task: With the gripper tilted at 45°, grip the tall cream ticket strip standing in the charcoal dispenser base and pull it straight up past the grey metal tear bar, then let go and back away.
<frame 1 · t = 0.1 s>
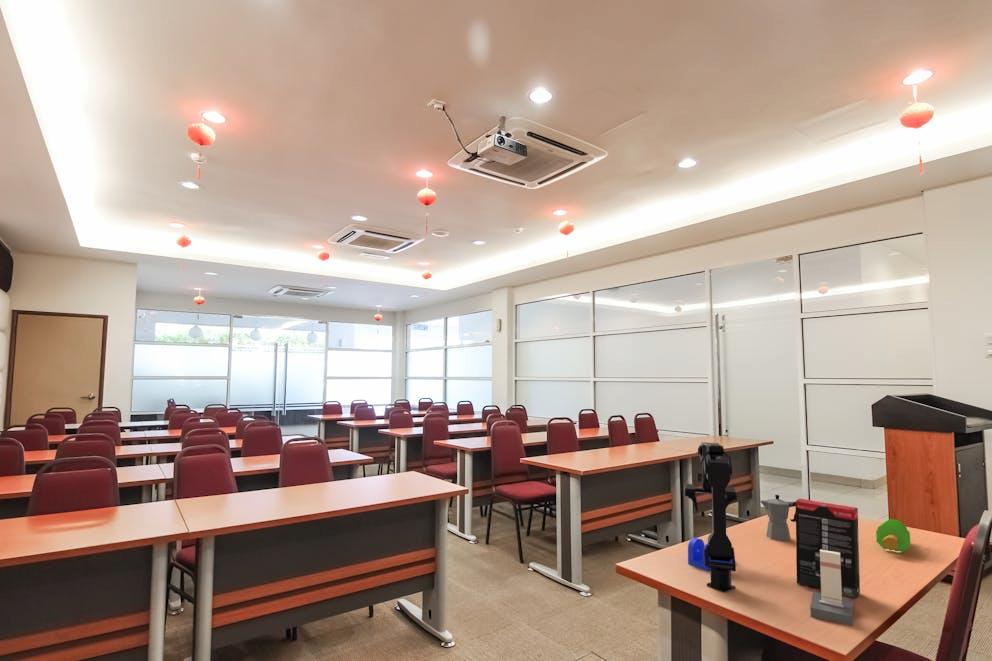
hand: (709, 512, 205), 15 cm above the table, tool pointing down, fingers open, 9 cm apart
dispenser base: (832, 612, 154), on the table
ticket strip: (830, 581, 155), point 9 cm above the table, slide at 0.0 cm
graphics card box: (828, 590, 171), on the table
bracket: (713, 564, 193), on the table
coffeepot: (781, 538, 225), on the table
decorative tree: (895, 548, 215), on the table
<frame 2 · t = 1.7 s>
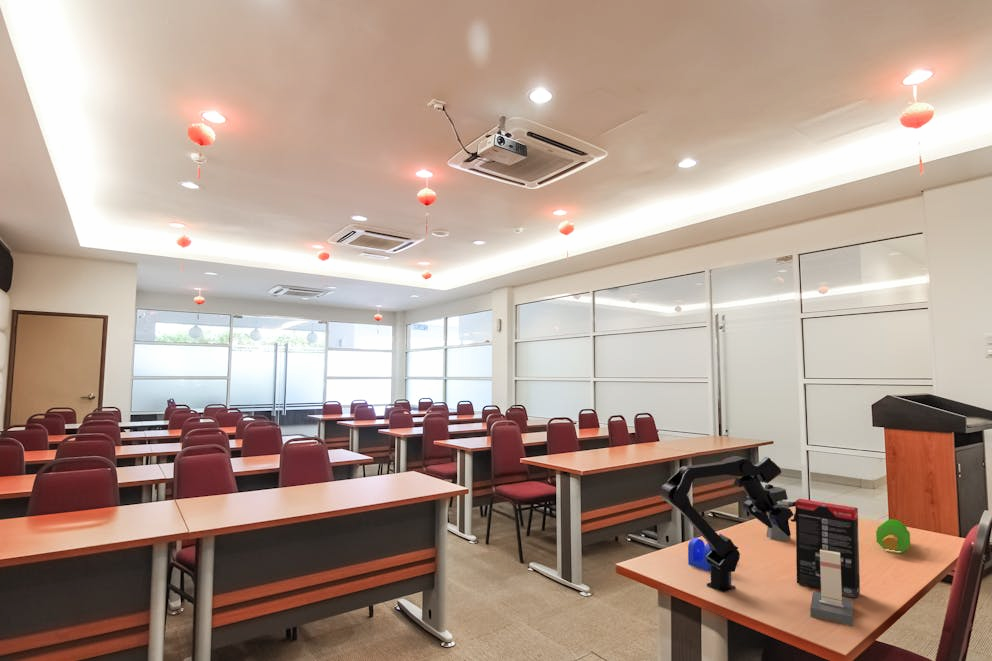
hand: (780, 531, 175), 17 cm above the table, tool tilted 35°, fingers open, 9 cm apart
nothing on the table moved.
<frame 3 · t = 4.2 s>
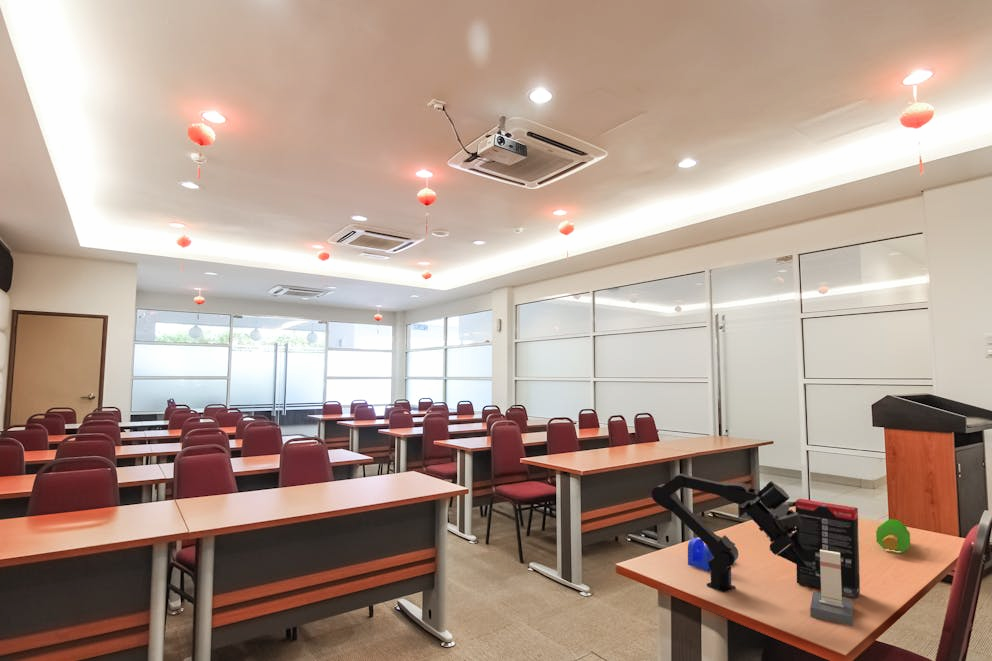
hand: (806, 562, 158), 13 cm above the table, tool tilted 45°, fingers open, 9 cm apart
nothing on the table moved.
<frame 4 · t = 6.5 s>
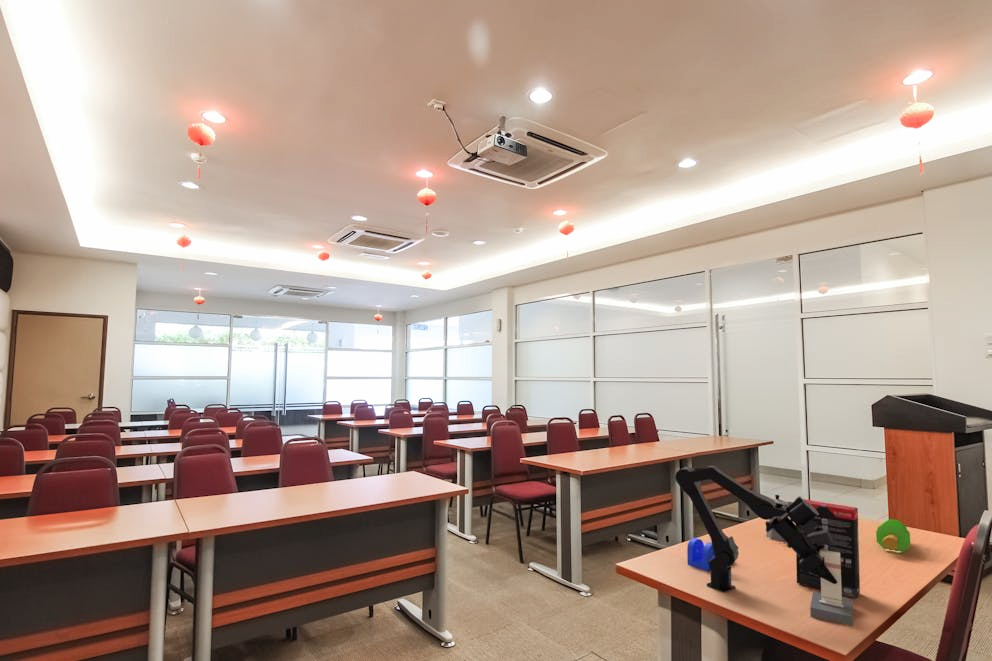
hand: (836, 581, 154), 9 cm above the table, tool tilted 45°, fingers open, 4 cm apart
ticket strip: (830, 581, 155), point 9 cm above the table, slide at 0.0 cm, touching gripper
everything else where it was.
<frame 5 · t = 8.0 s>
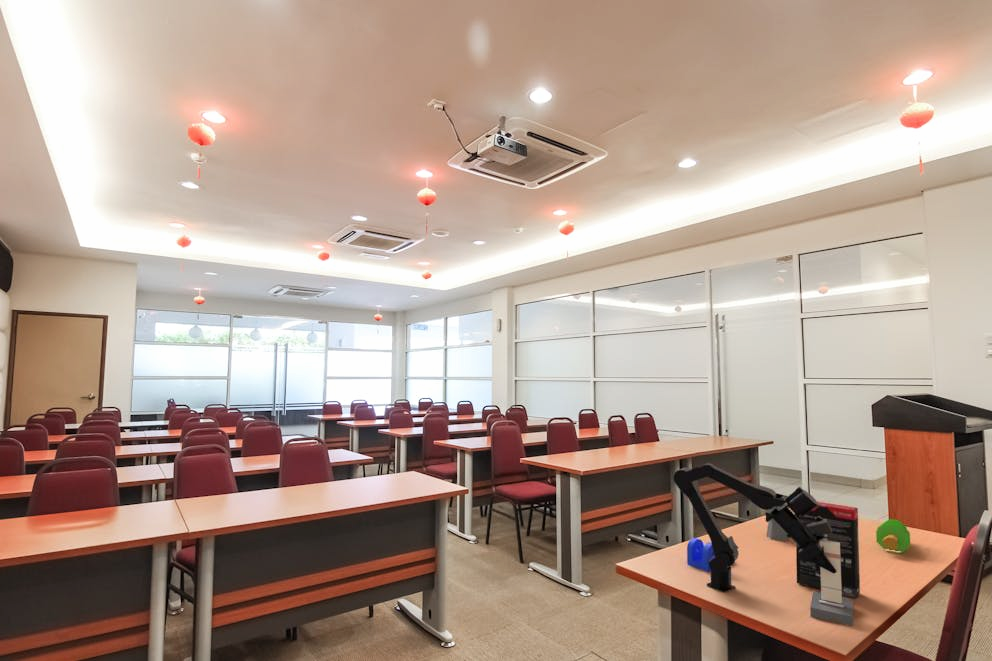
hand: (835, 571, 154), 12 cm above the table, tool tilted 45°, fingers open, 3 cm apart
ticket strip: (830, 570, 155), point 12 cm above the table, slide at 2.9 cm, touching gripper
everything else where it was.
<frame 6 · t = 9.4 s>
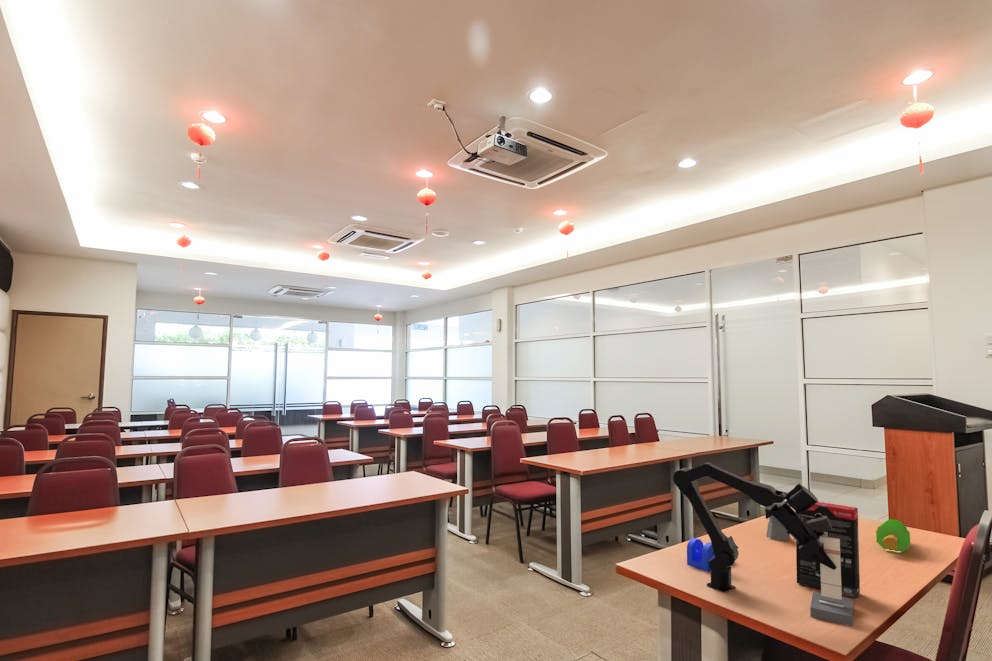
hand: (835, 567, 154), 13 cm above the table, tool tilted 45°, fingers closed on ticket strip, 3 cm apart
ticket strip: (830, 567, 155), point 13 cm above the table, slide at 3.9 cm, touching gripper
everything else where it was.
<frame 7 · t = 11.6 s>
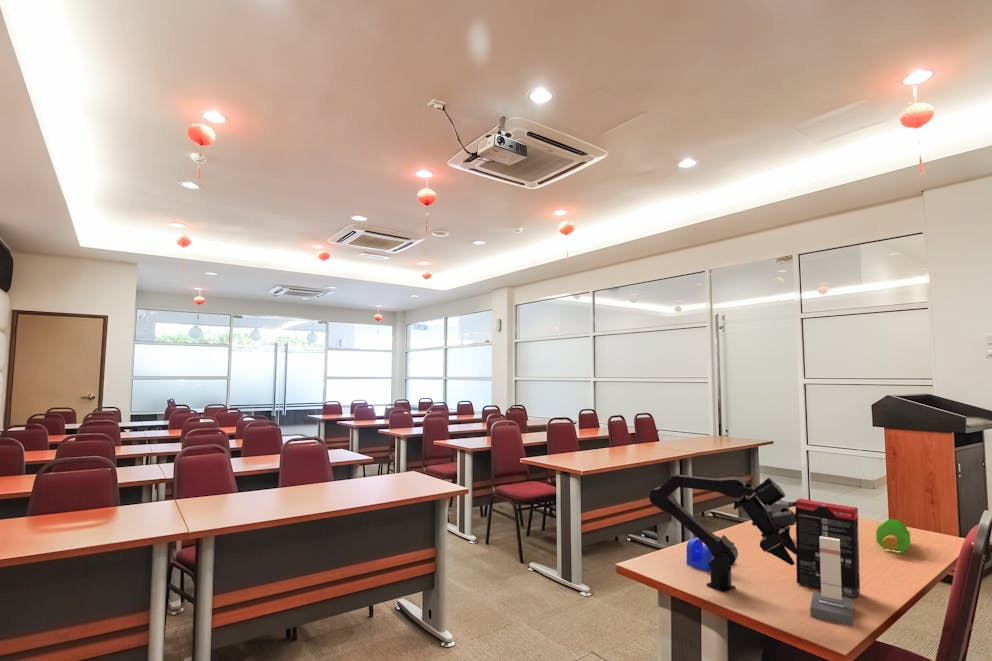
hand: (795, 559, 161), 13 cm above the table, tool tilted 40°, fingers open, 9 cm apart
ticket strip: (830, 567, 155), point 13 cm above the table, slide at 3.8 cm
everything else where it was.
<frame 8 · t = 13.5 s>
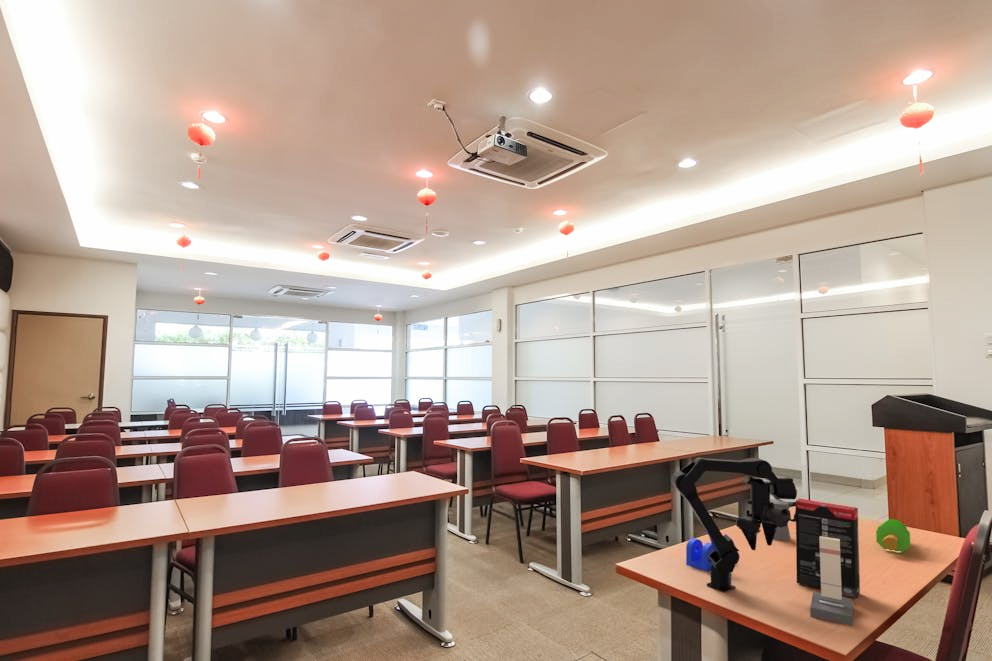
hand: (761, 547, 171), 13 cm above the table, tool pointing down, fingers open, 9 cm apart
nothing on the table moved.
at the end: ticket strip slide at 3.8 cm; the gripper is holding nothing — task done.
